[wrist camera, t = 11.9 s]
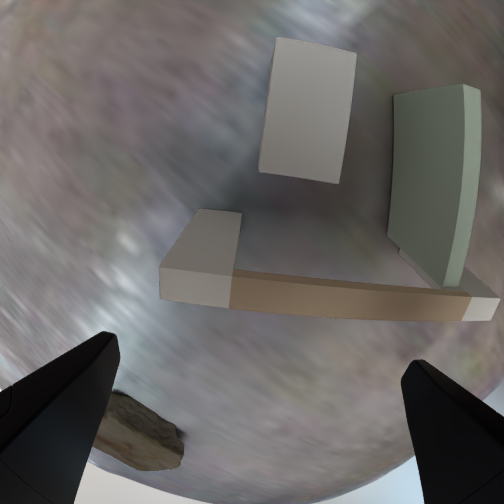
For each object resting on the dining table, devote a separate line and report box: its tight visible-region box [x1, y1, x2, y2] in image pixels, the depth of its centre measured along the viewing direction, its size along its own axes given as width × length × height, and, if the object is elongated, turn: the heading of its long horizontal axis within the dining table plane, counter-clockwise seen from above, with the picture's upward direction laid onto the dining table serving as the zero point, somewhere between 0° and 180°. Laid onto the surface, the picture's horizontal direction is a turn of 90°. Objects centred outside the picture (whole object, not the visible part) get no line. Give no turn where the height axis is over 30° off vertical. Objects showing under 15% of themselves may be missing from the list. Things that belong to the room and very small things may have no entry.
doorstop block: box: [258, 37, 357, 184], centre depth 15 cm, size 4×7×5 cm, turn 173°
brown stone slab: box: [92, 393, 184, 471], centre depth 29 cm, size 17×15×4 cm
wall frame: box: [159, 208, 501, 321], centre depth 16 cm, size 18×2×9 cm, turn 83°
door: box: [387, 84, 481, 289], centre depth 14 cm, size 10×2×8 cm, turn 2°
